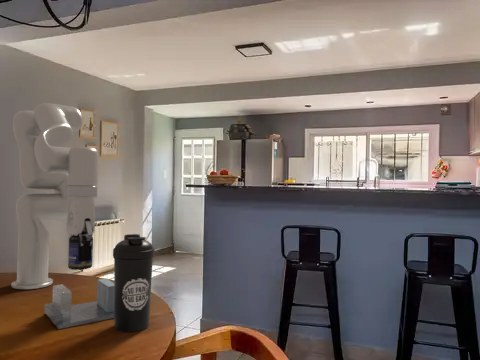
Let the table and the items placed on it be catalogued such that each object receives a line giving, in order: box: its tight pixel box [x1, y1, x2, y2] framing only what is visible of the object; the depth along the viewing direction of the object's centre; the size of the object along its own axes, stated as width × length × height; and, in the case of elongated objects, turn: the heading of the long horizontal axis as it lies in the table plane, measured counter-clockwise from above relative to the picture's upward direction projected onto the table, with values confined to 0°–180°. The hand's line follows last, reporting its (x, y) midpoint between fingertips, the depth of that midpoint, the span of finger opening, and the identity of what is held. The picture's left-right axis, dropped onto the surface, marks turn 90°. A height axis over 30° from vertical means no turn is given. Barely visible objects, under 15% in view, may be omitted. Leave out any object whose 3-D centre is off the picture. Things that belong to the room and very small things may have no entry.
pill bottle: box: [67, 232, 94, 271], centre depth 104 cm, size 6×6×11 cm
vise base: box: [44, 283, 114, 330], centre depth 105 cm, size 14×19×8 cm
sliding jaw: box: [96, 278, 114, 312], centre depth 109 cm, size 9×2×7 cm, turn 38°
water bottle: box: [112, 233, 155, 333], centre depth 98 cm, size 10×10×23 cm
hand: (80, 258), depth 104 cm, fingers closed on pill bottle, 6 cm apart
